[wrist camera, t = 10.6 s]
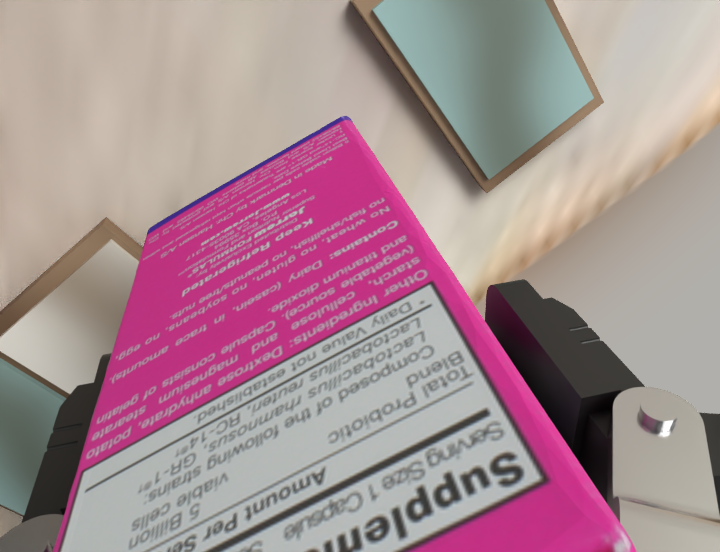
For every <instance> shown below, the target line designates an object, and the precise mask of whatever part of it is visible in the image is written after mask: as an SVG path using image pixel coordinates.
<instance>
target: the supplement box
mask: <svg viewBox="0 0 720 552" xmlns="http://www.w3.org/2000/svg"><path fill="white" fill-rule="evenodd" d="M52 552H637V551H636V549H635V547H634V545H633V543H632V541H631V539H630V538H629V536H628V534H627V532H626V531H625V529H624V528H623V526H622V525H621V523H620V522H619V520H618V519H617V518H616V516H615V515H614V513H613V512H612V510H611V509H610V507H609V506H608V504H607V503H606V501H605V500H604V498H603V497H602V496H601V494H600V493H599V491H598V490H597V488H596V487H595V485H594V484H593V482H592V481H591V479H590V478H589V476H588V475H587V473H586V472H585V470H584V469H583V467H582V466H581V464H580V463H579V461H578V460H577V458H576V457H575V455H574V454H573V453H572V451H571V450H570V448H569V447H568V445H567V444H566V442H565V441H564V439H563V438H562V436H561V435H560V433H559V432H558V430H557V429H556V427H555V426H554V424H553V423H552V421H551V420H550V418H549V417H548V415H547V414H546V412H545V411H544V409H543V408H542V406H541V405H540V403H539V402H538V400H537V399H536V397H535V396H534V394H533V393H532V391H531V390H530V388H529V387H528V385H527V384H526V382H525V381H524V379H523V378H522V376H521V375H520V373H519V372H518V370H517V369H516V367H515V366H514V364H513V363H512V361H511V360H510V358H509V357H508V355H507V354H506V352H505V351H504V349H503V348H502V346H501V345H500V343H499V342H498V340H497V339H496V337H495V336H494V334H493V333H492V331H491V330H490V328H489V326H488V325H487V323H486V322H485V321H484V319H483V318H482V316H481V315H480V314H479V312H478V310H477V309H476V307H475V306H474V304H473V303H472V301H471V300H470V298H469V296H468V295H467V293H466V292H465V290H464V289H463V287H462V286H461V284H460V283H459V281H458V280H457V278H456V277H455V275H454V273H453V272H452V270H451V269H450V267H449V266H448V265H447V263H446V262H445V260H444V259H443V257H442V256H441V255H440V253H439V252H438V250H437V249H436V247H435V245H434V244H433V242H432V241H431V239H430V238H429V237H428V235H427V233H426V232H425V230H424V228H423V227H422V226H421V224H420V223H419V221H418V219H417V218H416V216H415V215H414V213H413V212H412V210H411V209H410V208H409V206H408V205H407V203H406V202H405V200H404V199H403V197H402V196H401V194H400V193H399V191H398V190H397V188H396V187H395V185H394V184H393V182H392V181H391V179H390V178H389V176H388V175H387V173H386V172H385V170H384V169H383V167H382V166H381V164H380V163H379V161H378V160H377V158H376V157H375V155H374V153H373V152H372V151H371V149H370V148H369V146H368V145H367V143H366V142H365V140H364V139H363V137H362V136H361V134H360V133H359V131H358V130H357V129H356V127H355V125H354V124H353V122H352V121H351V119H350V118H349V117H348V116H343V117H340V118H338V119H336V120H335V121H333V122H331V123H329V124H328V125H326V126H324V127H323V128H321V129H319V130H318V131H316V132H314V133H312V134H310V135H309V136H307V137H305V138H304V139H302V140H300V141H298V142H297V143H295V144H293V145H291V146H290V147H288V148H286V149H285V150H283V151H281V152H279V153H277V154H276V155H274V156H272V157H270V158H269V159H267V160H265V161H263V162H262V163H260V164H258V165H256V166H255V167H253V168H251V169H249V170H248V171H246V172H244V173H242V174H241V175H239V176H237V177H236V178H234V179H232V180H230V181H229V182H227V183H225V184H223V185H222V186H220V187H218V188H216V189H215V190H213V191H211V192H210V193H208V194H206V195H204V196H203V197H201V198H199V199H197V200H196V201H194V202H192V203H191V204H189V205H187V206H186V207H184V208H182V209H181V210H179V211H177V212H175V213H174V214H172V215H170V216H168V217H167V218H165V219H163V220H162V221H160V222H159V223H157V224H155V225H154V226H152V227H151V228H150V229H149V230H148V233H147V236H146V240H145V243H144V247H143V250H142V253H141V257H140V261H139V264H138V267H137V270H136V275H135V279H134V282H133V285H132V289H131V292H130V295H129V299H128V302H127V305H126V308H125V312H124V314H123V317H122V321H121V324H120V327H119V330H118V333H117V337H116V341H115V344H114V348H113V351H112V354H111V357H110V361H109V364H108V367H107V370H106V375H105V378H104V381H103V384H102V388H101V391H100V394H99V397H98V400H97V403H96V407H95V410H94V413H93V416H92V419H91V423H90V427H89V430H88V434H87V437H86V441H85V444H84V448H83V451H82V454H81V458H80V462H79V466H78V469H77V473H76V476H75V479H74V482H73V485H72V488H71V491H70V494H69V499H68V503H67V507H66V511H65V514H64V517H63V520H62V523H61V527H60V530H59V533H58V536H57V539H56V542H55V545H54V548H53V551H52Z"/></svg>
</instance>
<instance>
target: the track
mask: <svg viewBox="0 0 720 552" xmlns="http://www.w3.org/2000/svg"><path fill="white" fill-rule="evenodd" d="M350 1H351V3H352V4H353V6H354V7H355V8H356V10H357V11H358V13H359V14H360V16H361V17H362V18H363V20H364V21H365V23H366V24H367V26H368V27H369V28H370V30H371V31H372V33H373V34H374V36H375V37H376V38H377V40H378V41H379V43H380V44H381V46H382V47H383V48H384V50H385V51H386V53H387V54H388V56H389V57H390V58H391V60H392V61H393V63H394V64H395V66H396V67H397V68H398V70H399V71H400V73H401V74H402V76H403V77H404V78H405V80H406V81H407V83H408V84H409V86H410V87H411V88H412V90H413V91H414V93H415V94H416V96H417V97H418V98H419V100H420V101H421V103H422V104H423V106H424V107H425V108H426V110H427V111H428V113H429V114H430V116H431V117H432V118H433V120H434V121H435V123H436V124H437V126H438V127H439V128H440V130H441V131H442V133H443V134H444V136H445V137H446V138H447V140H448V141H449V143H450V144H451V146H452V147H453V148H454V150H455V151H456V153H457V154H458V156H459V157H460V158H461V160H462V161H463V163H464V164H465V166H466V167H467V168H468V170H469V171H470V173H471V174H472V176H473V177H474V178H475V180H476V181H477V183H478V184H479V186H480V187H481V188H482V189H483V190H484V191H485V192H486V193H488V192H489V191H490V190H492V189H493V188H494V187H495V186H497V185H498V184H499V183H501V182H502V181H503V180H504V179H506V178H507V177H508V176H510V175H511V174H512V173H513V172H515V171H516V170H517V169H519V168H520V167H521V166H523V165H524V164H525V163H526V162H528V161H529V160H530V159H532V158H533V157H534V156H535V155H537V154H538V153H539V152H541V151H542V150H543V149H544V148H546V147H547V146H548V145H550V144H551V143H552V142H553V141H555V140H556V139H557V138H559V137H560V136H561V135H562V134H564V133H565V132H566V131H568V130H569V129H570V128H571V127H573V126H574V125H575V124H577V123H578V122H579V121H581V120H582V119H583V118H584V117H586V116H587V115H588V114H590V113H591V112H592V111H593V110H595V109H596V108H597V107H599V106H600V105H601V104H602V103H604V102H603V100H602V98H601V96H600V94H599V91H598V89H597V87H596V85H595V83H594V81H593V79H592V77H591V75H590V73H589V71H588V69H587V67H586V65H585V63H584V61H583V59H582V57H581V55H580V53H579V51H578V49H577V47H576V45H575V43H574V41H573V39H572V37H571V35H570V33H569V31H568V29H567V27H566V25H565V23H564V21H563V19H562V17H561V15H560V13H559V11H558V9H557V7H556V5H555V3H554V1H553V0H350ZM142 250H143V247H141V246H140V245H139V244H138V243H136V242H135V241H134V240H133V239H132V238H130V237H129V236H128V235H127V234H126V233H124V232H123V231H122V230H121V229H120V228H118V227H117V226H116V225H115V224H114V223H112V222H111V221H110V220H109V219H108V218H105V219H104V220H103V221H102V222H100V223H99V224H98V225H97V226H96V227H95V228H94V229H93V230H91V231H90V232H89V233H88V234H87V235H86V236H85V237H84V238H82V239H81V240H80V241H79V242H78V243H77V244H76V245H75V246H73V247H72V248H71V249H70V250H69V251H68V252H67V253H66V254H64V255H63V256H62V257H61V258H60V259H59V260H58V261H57V262H55V263H54V264H53V265H52V266H51V267H50V268H49V269H48V270H46V271H45V272H44V273H43V274H42V275H41V276H40V277H39V278H37V279H36V280H35V281H34V282H33V283H32V284H31V285H30V286H28V287H27V288H26V289H25V290H24V291H23V292H22V293H21V294H20V295H18V296H17V297H16V298H15V299H14V300H13V301H12V302H11V303H9V304H8V305H7V306H6V307H5V308H4V309H3V310H2V311H0V506H2V507H4V508H6V509H8V510H10V511H12V512H15V513H17V514H19V515H21V516H23V517H24V514H25V511H26V508H27V505H28V502H29V499H30V496H31V493H32V490H33V487H34V484H35V481H36V478H37V475H38V472H39V469H40V466H41V463H42V460H43V456H44V453H45V452H47V444H48V441H49V438H50V435H51V433H53V426H54V423H55V420H56V417H57V414H58V411H59V408H60V406H61V405H62V404H63V402H64V401H65V400H66V399H67V398H68V396H69V395H70V394H71V393H72V392H73V390H74V389H75V388H76V387H77V386H78V385H83V384H88V383H94V380H95V376H96V373H97V369H98V365H99V362H100V359H101V357H102V355H104V354H109V353H112V351H113V348H114V344H115V341H116V337H117V333H118V330H119V327H120V324H121V321H122V317H123V314H124V312H125V308H126V305H127V302H128V299H129V295H130V292H131V289H132V285H133V282H134V279H135V275H136V270H137V267H138V264H139V261H140V257H141V253H142Z"/></svg>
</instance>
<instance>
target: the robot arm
mask: <svg viewBox="0 0 720 552" xmlns="http://www.w3.org/2000/svg"><path fill="white" fill-rule="evenodd" d="M485 322H486V323H487V325H488V326H489V328H490V330H491V331H492V333H493V334H494V336H495V337H496V339H497V340H498V342H499V343H500V345H501V346H502V348H503V349H504V351H505V352H506V354H507V355H508V357H509V358H510V360H511V361H512V363H513V364H514V366H515V367H516V369H517V370H518V372H519V373H520V375H521V376H522V378H523V379H524V381H525V382H526V384H527V385H528V387H529V388H530V390H531V391H532V393H533V394H534V396H535V397H536V399H537V400H538V402H539V403H540V405H541V406H542V408H543V409H544V411H545V412H546V414H547V415H548V417H549V418H550V420H551V421H552V423H553V424H554V426H555V427H556V429H557V430H558V432H559V433H560V435H561V436H562V438H563V439H564V441H565V442H566V444H567V445H568V447H569V448H570V450H571V451H572V453H573V454H574V455H575V457H576V458H577V460H578V461H579V463H580V464H581V466H582V467H583V469H584V470H585V472H586V473H587V475H588V476H589V478H590V479H591V481H592V482H593V484H594V485H595V487H596V488H597V490H598V491H599V493H600V494H601V496H602V497H603V498H604V500H605V501H606V503H607V504H608V506H609V507H610V509H611V510H612V512H613V513H614V515H615V516H616V518H617V519H618V520H619V522H620V523H621V525H622V526H623V528H624V529H625V531H626V532H627V534H628V536H629V538H630V539H631V541H632V543H633V545H634V547H635V549H636V551H637V552H720V414H708V413H699V412H697V410H696V409H695V408H694V407H693V406H692V405H691V404H690V403H689V402H687V401H686V400H684V399H683V398H681V397H679V396H678V395H675V394H673V393H671V392H668V391H665V390H662V389H658V388H652V387H645V386H644V385H643V384H642V383H641V382H640V381H639V380H638V379H637V378H636V376H635V375H634V374H633V373H632V372H631V371H630V370H629V369H628V368H627V367H626V366H625V364H624V363H623V362H622V361H621V360H620V359H619V358H618V357H617V356H616V355H615V354H614V353H613V352H612V350H611V349H610V348H609V347H608V346H607V345H606V344H605V343H604V342H603V341H600V338H599V336H598V335H597V334H596V333H595V332H594V331H593V330H592V329H591V328H588V325H587V323H586V322H585V321H584V320H583V319H582V318H581V317H580V316H579V315H578V314H577V313H576V312H575V311H574V309H572V308H570V307H568V306H566V305H565V304H563V303H561V302H559V301H557V300H555V299H553V298H547V299H542V298H541V296H540V295H539V294H538V293H537V292H536V291H535V290H534V288H533V287H532V286H531V285H530V284H529V283H528V282H527V281H526V280H517V281H511V282H506V283H500V284H495V285H490V286H489V287H488V290H487V295H486V312H485ZM111 354H112V353H109V354H104V355H102V357H101V359H100V362H99V365H98V369H97V373H96V376H95V380H94V383H88V384H83V385H78V386H77V387H76V388H75V389H74V390H73V392H72V393H71V394H70V395H69V396H68V398H67V399H66V400H65V401H64V402H63V404H62V405H61V406H60V408H59V411H58V414H57V417H56V420H55V423H54V426H53V433H51V435H50V438H49V441H48V444H47V452H45V453H44V456H43V460H42V463H41V466H40V469H39V472H38V475H37V478H36V481H35V484H34V487H33V490H32V493H31V496H30V499H29V502H28V505H27V508H26V511H25V514H24V517H23V520H22V523H21V524H19V525H18V526H16V527H14V528H13V529H11V530H10V531H8V532H7V533H6V534H5V535H3V536H2V537H1V538H0V552H52V551H53V548H54V545H55V542H56V539H57V536H58V533H59V530H60V527H61V523H62V520H63V517H64V514H65V511H66V507H67V503H68V499H69V494H70V491H71V488H72V485H73V482H74V479H75V476H76V473H77V469H78V466H79V462H80V458H81V454H82V451H83V448H84V444H85V441H86V437H87V434H88V430H89V427H90V423H91V419H92V416H93V413H94V410H95V407H96V403H97V400H98V397H99V394H100V391H101V388H102V384H103V381H104V378H105V375H106V370H107V367H108V364H109V361H110V357H111Z"/></svg>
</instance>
